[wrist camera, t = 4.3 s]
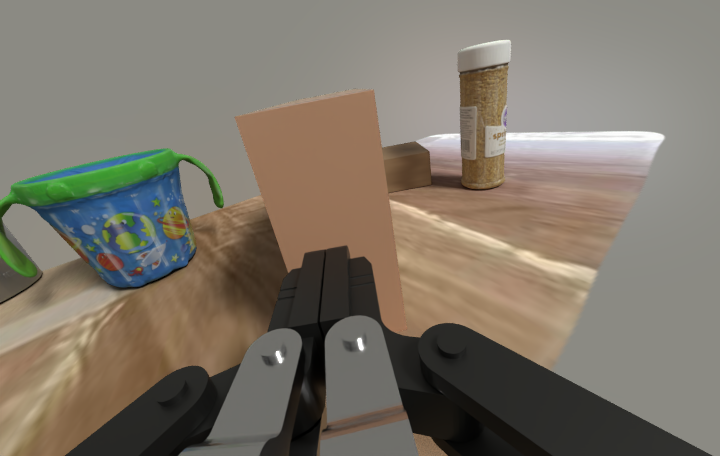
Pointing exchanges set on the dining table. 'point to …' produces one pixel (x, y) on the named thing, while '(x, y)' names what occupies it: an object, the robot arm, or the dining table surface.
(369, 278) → the robot arm
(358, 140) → the block
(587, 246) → the dining table surface
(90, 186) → the snack cup
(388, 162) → the brown wooden bar
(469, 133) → the sprinkles bottle
